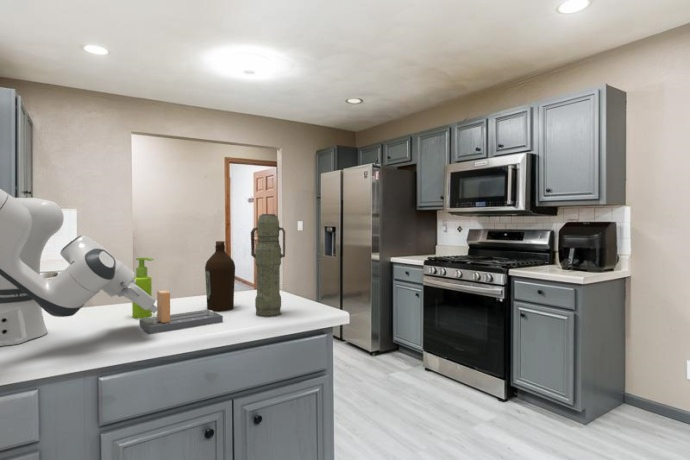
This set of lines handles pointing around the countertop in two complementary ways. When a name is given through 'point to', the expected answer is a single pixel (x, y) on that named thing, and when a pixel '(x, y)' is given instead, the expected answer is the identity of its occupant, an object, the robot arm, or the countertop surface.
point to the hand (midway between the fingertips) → (155, 310)
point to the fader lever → (163, 306)
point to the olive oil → (220, 280)
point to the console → (181, 321)
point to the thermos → (268, 265)
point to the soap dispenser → (145, 285)
